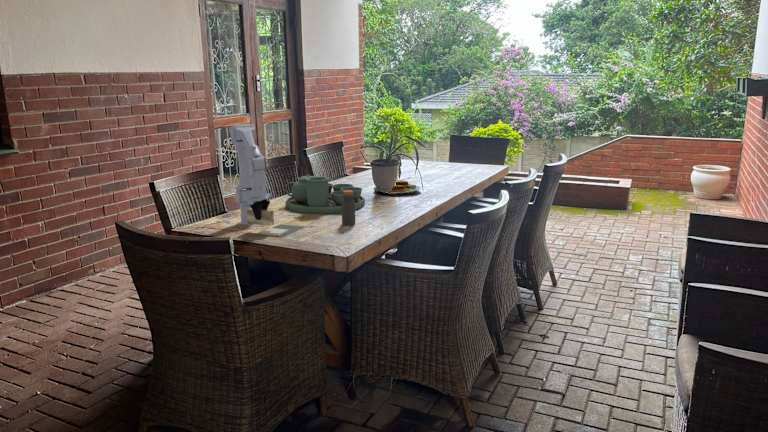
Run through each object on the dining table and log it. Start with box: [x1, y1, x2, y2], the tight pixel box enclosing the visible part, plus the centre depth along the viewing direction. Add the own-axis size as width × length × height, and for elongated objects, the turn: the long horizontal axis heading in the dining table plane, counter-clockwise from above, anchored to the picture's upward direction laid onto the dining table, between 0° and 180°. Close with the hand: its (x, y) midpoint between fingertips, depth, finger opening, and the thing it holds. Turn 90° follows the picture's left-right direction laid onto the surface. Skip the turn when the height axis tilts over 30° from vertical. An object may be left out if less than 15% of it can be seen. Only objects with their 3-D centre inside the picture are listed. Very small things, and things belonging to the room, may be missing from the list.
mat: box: [254, 223, 306, 239], centre depth 254 cm, size 20×13×1 cm, turn 157°
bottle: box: [341, 190, 356, 227], centre depth 266 cm, size 6×6×15 cm
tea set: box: [284, 173, 366, 215], centre depth 306 cm, size 40×40×16 cm
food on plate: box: [382, 179, 422, 196], centre depth 341 cm, size 25×25×7 cm
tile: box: [260, 227, 289, 237], centre depth 250 cm, size 7×1×9 cm
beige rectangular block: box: [247, 208, 275, 227], centre depth 251 cm, size 3×11×6 cm, turn 67°
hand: (260, 218), depth 251 cm, fingers closed on beige rectangular block, 3 cm apart
